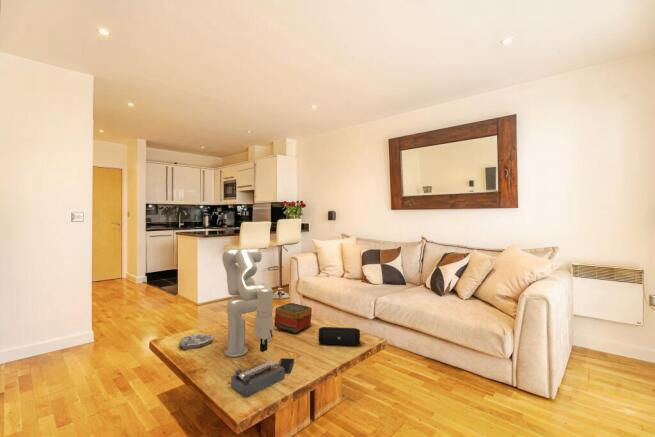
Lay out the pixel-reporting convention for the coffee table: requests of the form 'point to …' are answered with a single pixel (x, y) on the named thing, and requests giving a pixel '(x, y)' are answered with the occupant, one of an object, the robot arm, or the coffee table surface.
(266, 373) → the base block
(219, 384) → the coffee table surface
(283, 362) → the phone
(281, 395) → the coffee table surface
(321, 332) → the portable speaker
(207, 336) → the brain slice
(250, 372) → the latch bar
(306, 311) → the decorative box
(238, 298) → the robot arm
